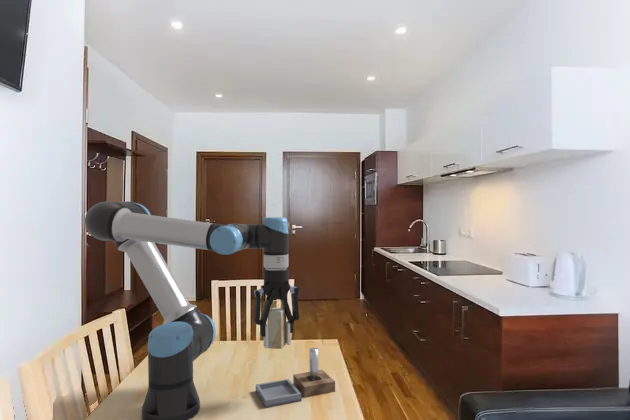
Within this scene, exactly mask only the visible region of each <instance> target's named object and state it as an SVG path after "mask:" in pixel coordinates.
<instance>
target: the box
mask: <svg viewBox="0 0 630 420" xmlns="http://www.w3.org/2000/svg"><path fill="white" fill-rule="evenodd" d="M286 321H287V317H286V314H285V309H284V308H283V307H271V308H270V311H269V315H268V318H267V325H268V348H267V349H269V350H270V349H272V350H273V349H275V350H282V349H283V348H284V347H285V346H286V345H287V344H286Z"/></svg>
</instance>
